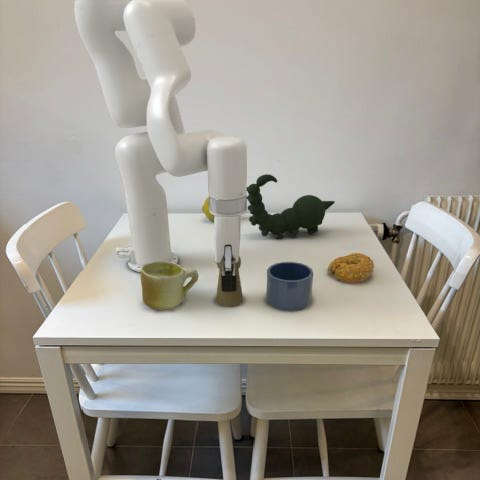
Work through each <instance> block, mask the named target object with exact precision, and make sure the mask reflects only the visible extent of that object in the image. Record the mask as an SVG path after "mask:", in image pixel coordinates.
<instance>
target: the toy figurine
mask: <svg viewBox="0 0 480 480" xmlns="http://www.w3.org/2000/svg"><path fill="white" fill-rule="evenodd" d="M269 182H273V183H278V179H277V178H276V177H275V176H274V175H273V174H270V173H269V174H267V173H266V174H261V175H259V177H257V179H256V182H255V183H251V184H250V185H248V186H247V201H248V203H249V205H247V211H249V214H251V215H250V216H249V218H248V221H249V223H250V225H251V226H253V227H255V226H258V230H259V232H261V235H262V236H263V237H267V236H269V233H271V234H272V235H274V236H276V237H275V238H276V239H279V240H280V239H282V238H283V237H284V234H285V233H286V232H287V233H289V234H290V235H291V236H292V237H297V236H298V235H299V233H300V228H301V229H304V230H306V231H307V232H308V233H309V234H312V235H315V234H317V232H319V226H320V225H322V224H323V221H324V219H325V215H326V211H327V210H328V209H329V208H330V207H332V206H333V205H334V204H335V200H322V199H321V198H320V197H318V196H315V195H312V194H306V195H302V196H301V197H299V198H297V199H296V200H295V201H294V202H293V204H292V207H288V208H285V209H284V210H281V211H282V212H276V213H273V214H271V213H269V212H268V210H266V206H265V204H264V201H263V195H262V193H261V188H263V187H264V186H265V185H266V184H267V183H269ZM260 187H261V188H260Z"/></svg>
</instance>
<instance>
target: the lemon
mask: <svg viewBox="0 0 480 480" xmlns="http://www.w3.org/2000/svg"><path fill="white" fill-rule="evenodd" d="M201 211H202V212H203V213H204V215H205V217H206V218H207V219H208V220H209V221H214V215H213V214H211V213H210V212H209V196H208V197H206V198H205V200H204V202H203V205H202V207H201Z"/></svg>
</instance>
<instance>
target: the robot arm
mask: <svg viewBox="0 0 480 480" xmlns="http://www.w3.org/2000/svg"><path fill="white" fill-rule="evenodd" d="M73 7H74V9H73V10H74V18H75V23H76V27H77V30H78V33H79V36H80V39H81V41H82V44H83V45H84V47H85V49H86V51H87V52H88V54H89V57H90V58H91V61H92V63H93V66H94V69H95V71H96V75H97V78H98V81H99V84H100V88H101V91H102V94H103V98H104V101H105V104H106V108H107V111H108V113H109V114H108V115H109V117H110V119H111V121H112V123H114V125H115V126H116V127H118V128H121V129H134V128H141V127H146V129H147V131H143V132H136V133H132V134H129V135H126V136H124V137H123V138H121V139H120V140H119V141H118V142H117V144H116V145H115V150H114V155H115V156H114V157H115V161H116V164H117V167H118V170H119V174H120V178H121V180H122V186H123V190H124V196H125V203H126V210H127V217H128V225H129V233H130V239H131V240H130V241H131V245H129V246H128V247H121V246H119V247H116V248H115V254H116V255H117V256H118V257H119V259H125V258H126V259H127V264H128V267H129V269H131V270H132V271H134V272H137V273H141V268H142V266H143V265H144V264H146V263H151V262H153V261H168V262H173V263H177V264H178V263H179V257H178V255H177V254H176V253H175V252H173V251H172V246H171V236H170V225H169V214H168V203H167V202H168V201H167V195H166V191H165V189H164V187H163V186H162V185H161V183H160V182H159V181H158V179H157V176H158V175H161V174H165V173H167V174H169V175H170V176H173V177H178V178H182V177H186V176H191V175H194V174H198V173H203V172H207V186H208V197H209V212H210V213H211V214H213V215H214V222H213V230H214V231H213V235H214V262H215V263H216V264H217V263H218V262H221V260H222V274H221V289H222V291H223V292H235V291H236V290H237V284H236V274H235V263H237V262H238V258H239V257H240V249H241V248H240V247H241V229H242V228H241V225H242V223H241V220H242V219H241V218H242V215H245V214H246V213H247V211H248V205H247V203H248V202H247V201H248V200H247V196H248V191H247V187H248V183H247V182H248V171H247V170H248V146H247V143H246V141H245V140H244V139H243V138H241V137H237V136H230V135H229V136H228V135H225V134H223V133H221V132H219V131H217V130H214V129H204V130H199V131H192V132H187V133H186V131H185V128H184V124H183V123H184V122H183V119H182V115H181V112H180V108H179V104H178V101H177V98H176V95H177V94H179V93H180V92H181V91H182V90H183V89H184V88H186V87H187V85H188V84H189V83H190V81H191V79H192V71H191V69H190V66H189V63H188V62H187V59H186V56H185V54H184V52H183V50H182V47H185V46H188V45H190V44H191V43H192V41H193V40H194V38H195V36H196V32H197V31H196V30H197V25H196V24H197V22H196V18H195V15H194V12H193V10H192V8H191V7H190V5H189V4H188V3H187V2H186V1H185V0H74V5H73ZM116 32H126V34H127V36H128V38H129V40H130V43H131V45H132V47H133V50H134V53H135V55H136V57H137V59H138V62H139V64H140V66H141V69H142V71H143V74H144V76H145V79H141V77H140V75H139V73H138V70H137V66H136V63H135V59H134V56H133V55H132V53H131V52H130V49H129V48H128V47H127V46H126V44H125V43H124V42H123V41H122V40H121V39H120V38H119V37H118V36H117V35H116ZM224 258H225V260H224ZM231 258H233V260H231ZM231 264H233V267H231Z"/></svg>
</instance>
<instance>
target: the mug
mask: <svg viewBox="0 0 480 480" xmlns="http://www.w3.org/2000/svg"><path fill="white" fill-rule="evenodd" d="M189 278H191V279H190V280H189V281H188V283H186V282H187V281H186V280H187V279H189ZM198 280H199V271H197V269H196V268H195V269H194V268H186V269H185V270H184V268H183V266H182V265H180V264H178V263H173V262H168V261H153V262H151V263H146V264H144V265H143V266H142V268H141V272H140V285H141V297H142V302H143V303H144V304H145V305H146V306H147V307H149V308H151V309H153V310H156V311H164V310H171V309H175V308H177V307H178V306H180V305H181V304H182V303H183V301H184V299H185V298H186V296H187V294H188V292H189V290H191V289H192V288H193V287H194V286H195V284H197V282H198ZM185 283H186V284H185Z"/></svg>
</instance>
